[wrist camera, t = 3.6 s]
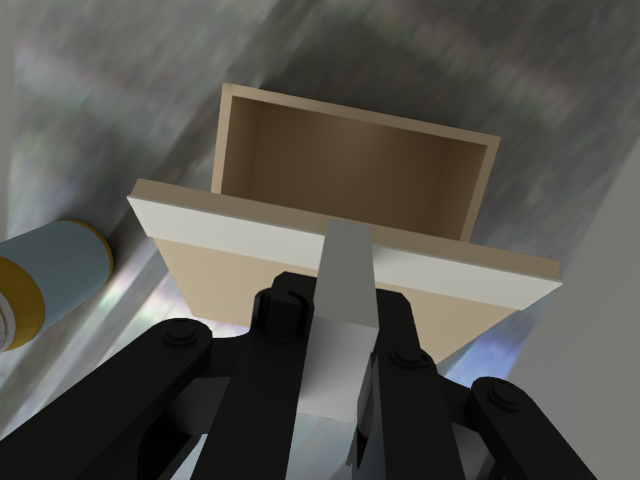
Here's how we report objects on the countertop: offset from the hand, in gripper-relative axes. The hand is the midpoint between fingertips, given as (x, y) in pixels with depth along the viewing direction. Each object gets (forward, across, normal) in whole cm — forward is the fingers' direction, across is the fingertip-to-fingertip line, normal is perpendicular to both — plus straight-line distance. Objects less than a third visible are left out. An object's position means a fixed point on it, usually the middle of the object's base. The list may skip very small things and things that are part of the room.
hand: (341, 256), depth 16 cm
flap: (+5, 0, +4) cm, 7 cm away
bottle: (+20, +22, +14) cm, 33 cm away
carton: (+21, 0, +4) cm, 21 cm away
